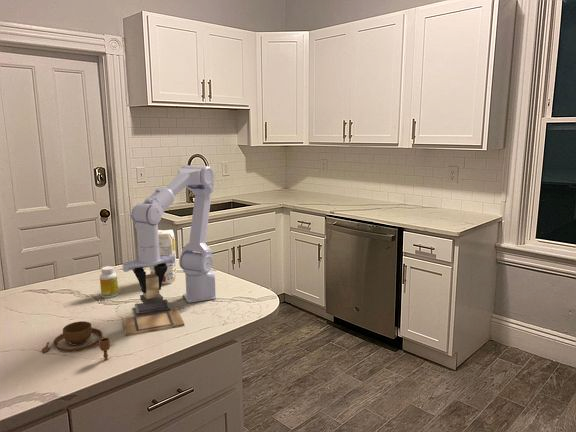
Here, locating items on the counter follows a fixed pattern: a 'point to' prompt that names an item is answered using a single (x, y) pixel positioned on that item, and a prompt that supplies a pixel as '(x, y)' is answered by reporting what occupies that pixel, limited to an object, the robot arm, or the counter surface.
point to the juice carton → (167, 254)
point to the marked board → (152, 322)
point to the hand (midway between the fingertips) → (151, 290)
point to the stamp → (151, 290)
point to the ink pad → (152, 308)
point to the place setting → (80, 338)
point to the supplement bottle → (108, 282)
